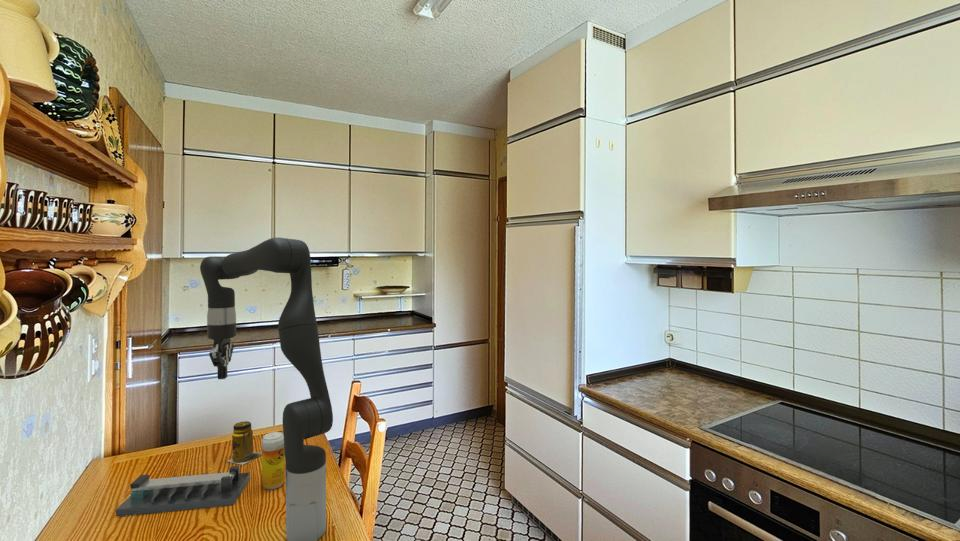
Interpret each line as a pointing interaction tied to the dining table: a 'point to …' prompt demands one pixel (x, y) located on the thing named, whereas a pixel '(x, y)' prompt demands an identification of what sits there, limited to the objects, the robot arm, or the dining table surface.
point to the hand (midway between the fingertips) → (222, 378)
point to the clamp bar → (177, 481)
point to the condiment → (243, 443)
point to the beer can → (273, 460)
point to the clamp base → (186, 496)
